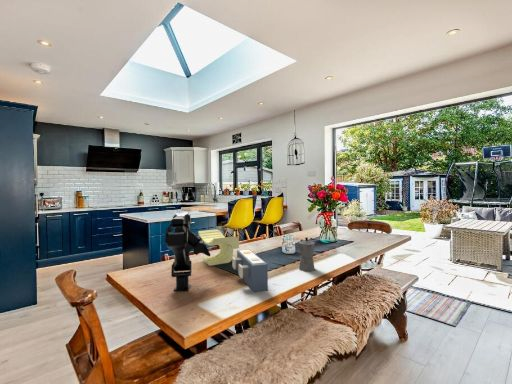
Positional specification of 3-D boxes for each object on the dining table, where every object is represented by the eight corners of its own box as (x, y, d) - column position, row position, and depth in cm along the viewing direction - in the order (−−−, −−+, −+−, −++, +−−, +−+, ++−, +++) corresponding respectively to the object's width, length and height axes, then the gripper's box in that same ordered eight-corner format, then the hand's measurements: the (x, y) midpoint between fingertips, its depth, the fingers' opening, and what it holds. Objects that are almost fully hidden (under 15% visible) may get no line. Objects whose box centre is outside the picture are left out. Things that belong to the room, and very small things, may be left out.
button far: (234, 269, 137) (234, 259, 137) (232, 266, 142) (232, 256, 142) (246, 268, 139) (246, 258, 139) (244, 265, 144) (244, 255, 144)
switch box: (253, 292, 120) (252, 264, 120) (237, 271, 149) (237, 249, 148) (267, 290, 122) (267, 262, 122) (249, 270, 151) (249, 248, 151)
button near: (241, 278, 124) (241, 267, 124) (238, 274, 129) (238, 264, 129) (254, 276, 126) (254, 265, 126) (251, 273, 131) (251, 262, 131)
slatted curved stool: (239, 265, 161) (238, 235, 161) (214, 269, 154) (213, 238, 153) (221, 254, 188) (220, 228, 187) (198, 257, 180) (198, 231, 180)
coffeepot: (319, 271, 147) (319, 239, 146) (303, 273, 145) (303, 240, 144) (308, 263, 162) (308, 234, 161) (293, 265, 160) (293, 235, 159)
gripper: (175, 243, 140) (196, 262, 143) (175, 252, 122) (200, 273, 125) (190, 228, 142) (211, 247, 145) (192, 233, 124) (217, 255, 128)
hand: (209, 255), depth 136 cm, fingers closed
